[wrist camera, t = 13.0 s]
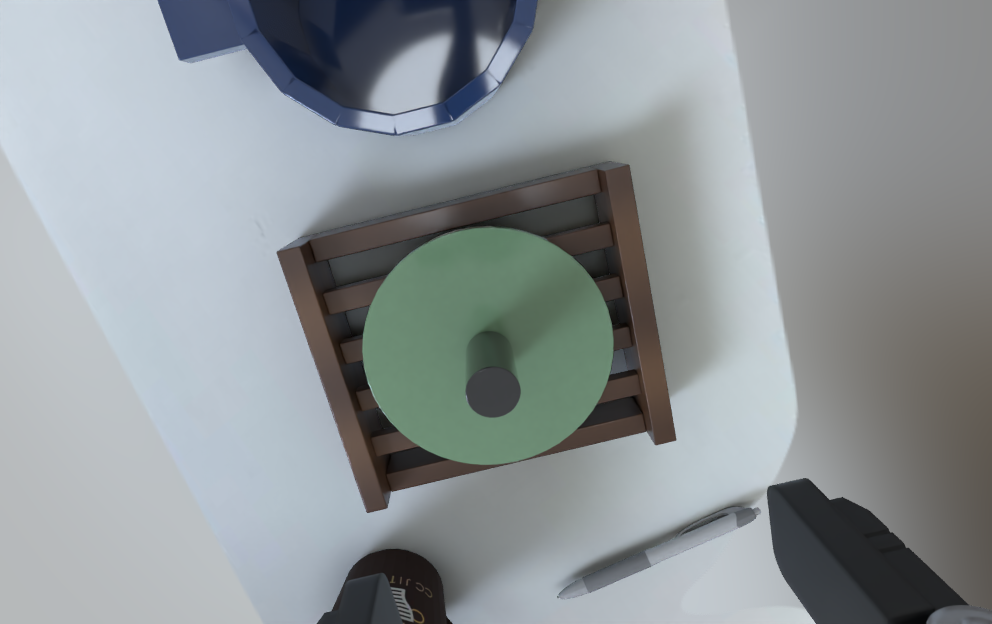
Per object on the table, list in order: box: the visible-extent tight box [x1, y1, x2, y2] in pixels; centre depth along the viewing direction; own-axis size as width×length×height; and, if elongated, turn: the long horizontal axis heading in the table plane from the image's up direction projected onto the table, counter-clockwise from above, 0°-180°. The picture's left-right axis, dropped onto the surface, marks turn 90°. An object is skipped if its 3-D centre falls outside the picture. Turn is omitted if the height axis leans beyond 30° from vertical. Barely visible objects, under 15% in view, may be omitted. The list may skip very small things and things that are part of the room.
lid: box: [362, 226, 614, 465], centre depth 29 cm, size 13×13×6 cm
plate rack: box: [277, 161, 676, 513], centre depth 33 cm, size 15×17×4 cm
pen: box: [557, 507, 761, 599], centre depth 39 cm, size 1×14×1 cm, turn 116°
